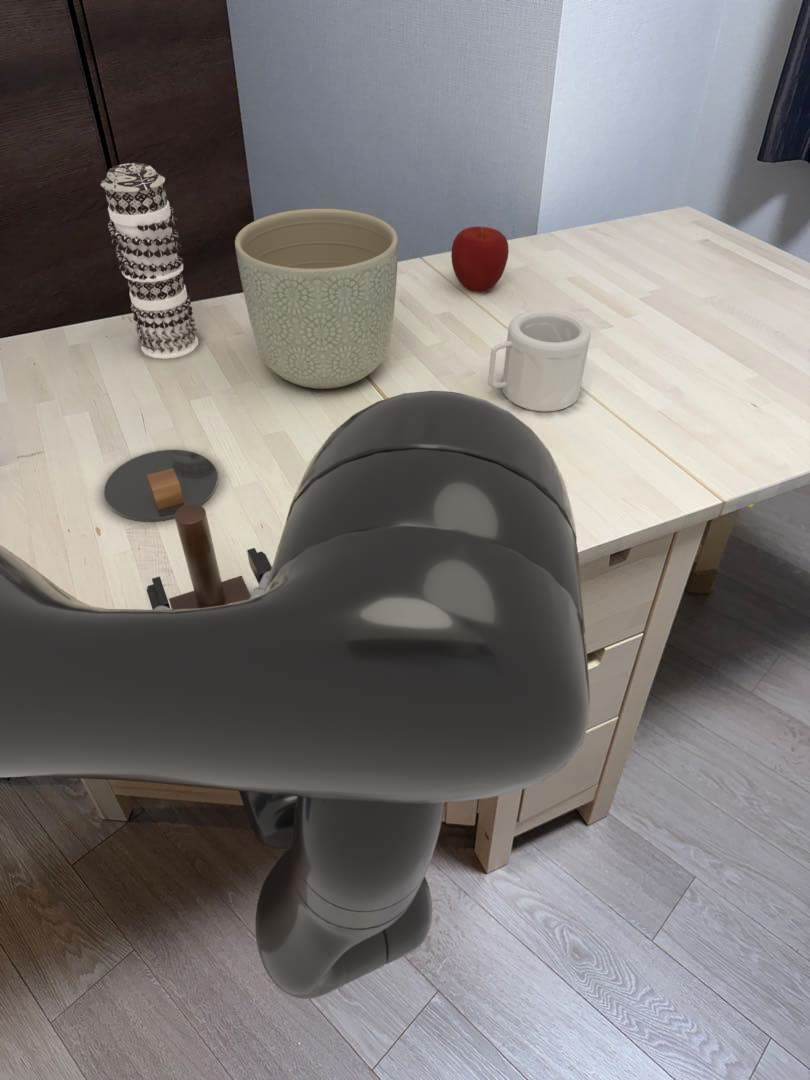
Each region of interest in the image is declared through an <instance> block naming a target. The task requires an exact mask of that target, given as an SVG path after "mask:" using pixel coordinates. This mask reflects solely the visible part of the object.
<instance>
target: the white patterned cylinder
mask: <svg viewBox="0 0 810 1080" xmlns="http://www.w3.org/2000/svg"><path fill="white" fill-rule="evenodd" d="M165 181H166V177H164V176H163V175H162V174H160V173H158V172H157V170H156V169H155V168H153V167H152V165H150V164H146V163H143V162H141V163H140V162H129V163H122V164H118V165H115V166H113V167H111V168H109V170H108V171H107V173H106V177H105V178H104V179H103V180H101V182H100V187H102V188H103V189H104V191H105V198H106V201H107V203H108V208H107V212H108V215H109V219H110V220H109V222H108V223H107V228H108V233H109V234H110V235H111V236H110V238H111V244H112V245H113V246H115V254H116V259H117V260H118V263H119V266H118V268H119V270H121V274H122V275H123V277H124V278H125V279H127V285H128V287H129V298H130V301H131V302H130V307H129V309H130V310H131V311H132V312H133V317H132V319H133V321H134V322H135V323H136V324H135V332H136V333H137V334H138V338H137V340H138V342H139V344H141V347H140V349H141V351H142V352H143V354H144V355H146V356H148V357H151V358H153V359H160V360H166V359H167V360H168V359H177V358H180V357H184V356H187V355H188V354H190V353H192V352H193V351H195V350H196V349H197V347H198V345H199V337H197V336H198V332H196V331H198V330H197V328H196V323H195V321H196V319H195V317H192V315H193V314H194V312H193V307H192V306H191V305H192V302H191V300H192V299H191V297H190V296H189V295H188V292H187V286H186V284H185V283H184V277H183V273H182V272H183V271H184V260H183V259H184V258H183V257H182V256H180V255H178V253H179V252H180V251H181V250H182V244H181V243H180V242H179V241H177V240H178V239H179V238H180V234H179V232H178V231H177V230H176V229H174V228H173V227H175V225H176V224H178V221H179V220H178V217H176V215H173V213H174V211H173V210H174V209H175V208H174V206H173V207H171V205H170V201H169V200H168V198H167V193H166V187H165Z"/></svg>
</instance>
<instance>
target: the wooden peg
mask: <svg viewBox="0 0 810 1080" xmlns="http://www.w3.org/2000/svg"><path fill="white" fill-rule="evenodd" d="M208 520H209V519H208V516H207V512H206V509H205V507H203V505H202V506H200V505H196V504H189V505H185V506H183V507H181V508H179V509H178V510H177V511H176V513H175V518H174V521H175V524H176V529H177V533H178V536H179V540H180V543H181V547H182V551H183V555H184V557H185V562H186V566H187V570H188V573H189V577H190V580H191V584H192V589H193V590H192V591H189V592H186V593H181V594H178V595H175V596H174V597H170V598H168V602H169V605H170V608H171V609H173V610H174V609H192V608H204V607H212V606H220V605H226V604H230V603H235V602H239V601H244V600H248V599H249V598H250V596H251V593H250V590H249V588H248V586H247V584H246V581H245V580H244V579H245V578H244V577H243V576H242V575H239V576H236V577H233V578H230V579H226V580H222V578H221V574H220V569H219V564H218V560H217V555H216V552H215V551H216V550H215V546H214V541H213V537H212V533H211V529H210V524H209V521H208Z"/></svg>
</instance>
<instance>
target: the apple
mask: <svg viewBox="0 0 810 1080" xmlns="http://www.w3.org/2000/svg"><path fill="white" fill-rule="evenodd" d="M509 250H510V249H509V243H508V239H507V238H506V236H505V235H504V234H503V233H502V232H501V231H499V230H497V229H495V228H492V227H488V226H470V227H466V228H464V229H462V230H461V231H460V232H458V233H457V235H456V236H455V238H454V239H453V242H452V245H451V255H450V256H451V257H450V258H451V265H452V269H453V272H454V275H455V277H456V279H457V281H458V282H459V283H460V284H461V285H462V287H464V288H465V289H467V290H468V291H470V292H474V293H486V292H489V291H490V290H491V289H492V288H494V287H495V286H496V285H497V283H499V281H500V279H501V278H502V276H503V274H504V272H505V269H506V266H507V264H508V259H509V252H510V251H509Z"/></svg>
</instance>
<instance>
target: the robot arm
mask: <svg viewBox="0 0 810 1080" xmlns="http://www.w3.org/2000/svg"><path fill="white" fill-rule="evenodd" d="M576 528H577V527H576V522H575V517H574V513H573V509H572V505H571V501H570V498H569V493H568V489H567V486H566V483H565V480H564V477H563V475H562V472H561V470H560V469H559V467H558V465H557V463H556V461H555V459H554V458H553V455H552V453H551V451H550V449H549V448H548V447H547V446H546V445H545V443H544V442H543V441H542V440H541V439H540V437H539V436H538V435H537V434H536V433H535V432H534V430H533V429H532V428H531V427H530V426H528V425H527V424H526V423H525V422H523V421H522V420H521V419H519V417H517V416H515V415H514V414H513V413H512V412H511V411H509V410H506V409H505V408H502V407H500V406H498V405H496V404H495V403H492V402H490V401H488V400H486V399H482V398H479V397H476V396H471V395H467V394H464V393H461V392H455V391H446V390H425V391H416V392H415V391H414V392H405V393H400V394H398V395H394V396H391V397H388V398H384V399H381V400H378V401H376V402H374V403H372V404H371V405H369V406H366V407H365V408H363V409H361V410H360V411H358V412H356V413H354V414H352V415H351V416H350V417H349V418H348V419H347V420H345V421H344V422H343V423H342V424H341V425H339V426H338V427H337V428H336V429H335V430H334V431H332V432H331V433H330V435H329V436H328V437H327V438H326V440H325V441H324V443H322V445H321V447H320V448H319V449H318V450H317V452H316V453H315V454H314V455H313V457H312V458H311V460H310V462H309V464H308V466H307V467H306V470H305V472H304V474H303V476H302V478H301V480H300V482H299V485H298V487H297V488H296V491H295V493H294V496H293V498H292V500H291V503H290V506H289V510H288V513H287V517H286V520H285V524H284V526H283V529H282V533H281V536H280V539H279V542H278V545H277V549H276V553H275V556H274V558H273V562H272V564H271V562H270V561H269V558H268V556H267V554H266V553H264V552H263V551H258V550H257V549H256V548H255V547H252V548H250V549H247V550H246V552H247V559H248V563H249V566H250V569H251V571H252V574H253V576H254V578H255V580H256V582H257V584H258V585H257V587H254V588H253V590H252V593H250V595H251V596H250V598H249V599H248V600H244V601H239V602H235V603H230V604H226V605H220V606H212V607H204V608H192V609H174V610H173V609H172V608H171V605H170V602H169V598H168V596H167V593H166V590H165V588H164V584H163V582H162V579H161V576H160V575H159V576H156V577H153V578H151V580H152V584H149V585H147V587H146V593H147V596H148V599H149V600H148V601H149V603H150V606H151V609H140V608H139V609H137V608H136V609H135V608H131V609H130V608H105V607H99V606H95V605H90V604H88V603H86V602H84V601H81V600H79V599H78V598H76V597H74V596H73V595H71V593H69V592H66V591H65V590H64V589H62V588H61V587H59V586H58V585H56V584H55V583H54V582H53V581H51V580H50V579H49V578H47V577H46V576H44V574H42V573H41V572H40V571H38V570H37V569H36V568H34V567H33V566H31V565H30V564H29V563H28V562H26V561H25V560H23V559H22V558H21V557H19V556H18V555H16V554H15V553H14V552H12V551H10V550H9V549H8V548H6V547H5V546H3V545H1V544H0V778H51V779H52V778H54V779H83V780H84V779H86V780H104V781H105V780H106V781H107V780H109V781H110V780H111V781H122V782H123V781H124V782H134V783H135V782H137V783H149V784H160V785H170V786H171V785H173V786H182V787H191V788H203V789H204V788H205V789H213V790H214V789H215V790H225V791H233V792H234V791H235V792H238V793H239V796H240V798H241V801H242V804H243V806H244V811H245V814H246V817H247V820H248V822H249V824H250V827H251V830H252V832H253V834H254V836H255V837H256V839H257V840H258V841H259V842H260V843H261V844H262V845H264V846H266V847H268V848H271V849H276V850H285V851H284V853H282V855H281V856H280V858H279V859H278V860H277V861H276V863H275V864H274V865H273V867H272V868H271V870H270V871H269V873H268V874H267V876H266V878H265V879H264V881H263V883H262V886H261V889H260V892H259V895H258V899H257V903H256V909H255V910H256V911H255V923H254V929H255V940H256V945H257V950H258V951H257V952H258V954H259V959H260V961H261V963H262V966H263V968H264V970H265V972H266V974H267V975H268V977H269V978H270V980H271V981H272V982H273V984H274V985H275V986H276V987H277V988H278V989H280V991H282V992H283V993H285V994H287V995H288V996H290V997H293V998H296V999H301V1000H309V999H311V1000H312V999H317V998H319V997H323V996H325V995H327V994H330V993H332V992H333V991H335V990H338V989H339V988H342V987H344V986H345V985H347V984H349V983H351V982H354V981H355V980H358V979H360V978H362V977H364V976H366V975H368V974H370V973H372V972H374V971H376V970H379V969H381V968H382V967H384V966H385V965H388V964H391V963H393V962H396V961H397V960H399V959H401V958H403V957H405V956H407V955H409V954H411V953H412V952H414V951H415V950H417V949H418V948H419V947H420V946H422V944H424V942H425V941H426V939H427V938H428V935H429V934H430V933H429V932H430V930H431V927H432V922H433V921H432V920H433V899H432V894H431V889H430V886H429V883H428V881H427V878H426V875H427V872H428V870H429V866H430V864H431V863H432V859H433V856H434V854H435V851H436V847H437V845H438V842H439V841H438V840H439V837H440V832H441V828H442V824H443V823H442V822H443V818H444V813H445V808H446V807H445V806H446V803H461V802H469V801H470V802H471V801H479V800H486V799H492V798H496V797H499V796H503V795H507V794H511V793H515V792H519V791H523V790H525V789H528V788H531V787H534V786H536V785H538V784H540V783H542V782H543V781H545V780H547V779H549V778H550V777H552V776H554V775H555V774H557V773H559V772H560V771H561V770H562V769H564V768H565V767H566V766H567V765H568V764H569V763H570V761H571V760H572V758H573V757H575V755H576V753H577V752H578V751H579V749H580V748H581V746H582V745H583V743H584V741H585V737H586V734H587V731H588V727H589V719H590V718H589V716H590V700H591V699H590V698H591V697H590V695H591V694H590V677H589V675H590V674H589V664H588V663H589V662H588V651H587V642H586V637H585V634H586V626H585V618H584V617H585V616H584V606H583V605H584V603H583V593H582V582H581V571H580V558H579V550H578V549H579V548H578V544H577V539H578V538H577V537H578V536H577V529H576ZM257 551H258V552H257Z"/></svg>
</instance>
